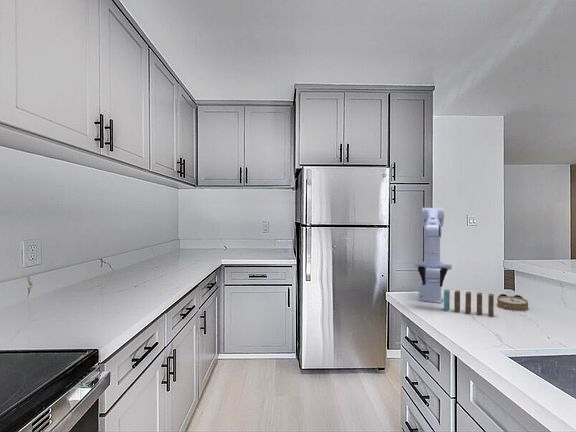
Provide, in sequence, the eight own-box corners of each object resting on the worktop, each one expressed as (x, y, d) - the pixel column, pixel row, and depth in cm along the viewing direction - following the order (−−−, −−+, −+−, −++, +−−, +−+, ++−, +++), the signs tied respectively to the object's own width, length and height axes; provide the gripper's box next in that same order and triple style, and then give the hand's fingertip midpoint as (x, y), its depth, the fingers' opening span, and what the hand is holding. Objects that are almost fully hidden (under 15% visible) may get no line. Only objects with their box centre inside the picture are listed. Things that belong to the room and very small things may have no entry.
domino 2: (465, 313, 147) (465, 293, 147) (466, 311, 150) (466, 291, 150) (469, 314, 146) (470, 293, 146) (470, 311, 150) (471, 291, 150)
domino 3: (476, 315, 145) (476, 294, 145) (477, 312, 148) (477, 292, 148) (481, 315, 144) (481, 295, 144) (482, 313, 148) (482, 292, 148)
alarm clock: (499, 302, 153) (494, 289, 167) (499, 314, 154) (494, 300, 168) (531, 305, 149) (523, 291, 163) (530, 317, 150) (523, 302, 163)
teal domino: (443, 310, 151) (443, 291, 151) (445, 308, 155) (445, 289, 155) (448, 311, 150) (448, 291, 150) (449, 309, 154) (449, 289, 154)
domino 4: (488, 316, 143) (488, 295, 143) (488, 313, 146) (489, 293, 146) (493, 317, 142) (493, 296, 142) (493, 314, 146) (493, 294, 146)
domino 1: (454, 312, 149) (454, 292, 149) (455, 309, 153) (455, 290, 153) (458, 312, 148) (458, 292, 148) (460, 310, 152) (460, 290, 152)
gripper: (412, 253, 155) (412, 285, 155) (450, 255, 148) (450, 289, 148) (416, 251, 161) (416, 282, 161) (452, 253, 154) (452, 286, 154)
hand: (432, 285), depth 155 cm, fingers open, 6 cm apart
